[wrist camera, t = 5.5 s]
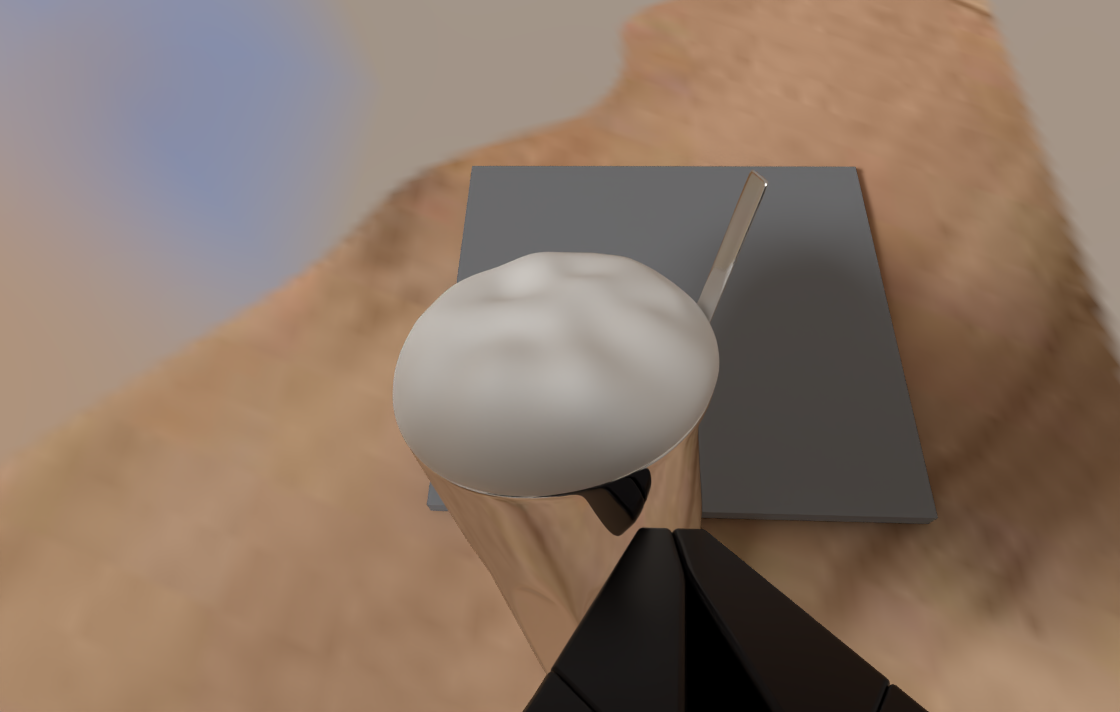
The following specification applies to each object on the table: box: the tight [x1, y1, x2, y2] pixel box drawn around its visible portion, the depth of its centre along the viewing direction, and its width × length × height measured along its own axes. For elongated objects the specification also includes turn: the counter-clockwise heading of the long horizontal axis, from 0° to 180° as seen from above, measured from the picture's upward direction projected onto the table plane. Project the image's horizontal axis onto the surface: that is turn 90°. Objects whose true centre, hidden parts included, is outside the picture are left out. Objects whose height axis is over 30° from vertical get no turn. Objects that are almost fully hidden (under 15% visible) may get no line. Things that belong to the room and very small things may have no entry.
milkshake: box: [393, 170, 768, 675], centre depth 11 cm, size 4×5×10 cm
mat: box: [427, 166, 938, 524], centre depth 19 cm, size 11×12×1 cm
